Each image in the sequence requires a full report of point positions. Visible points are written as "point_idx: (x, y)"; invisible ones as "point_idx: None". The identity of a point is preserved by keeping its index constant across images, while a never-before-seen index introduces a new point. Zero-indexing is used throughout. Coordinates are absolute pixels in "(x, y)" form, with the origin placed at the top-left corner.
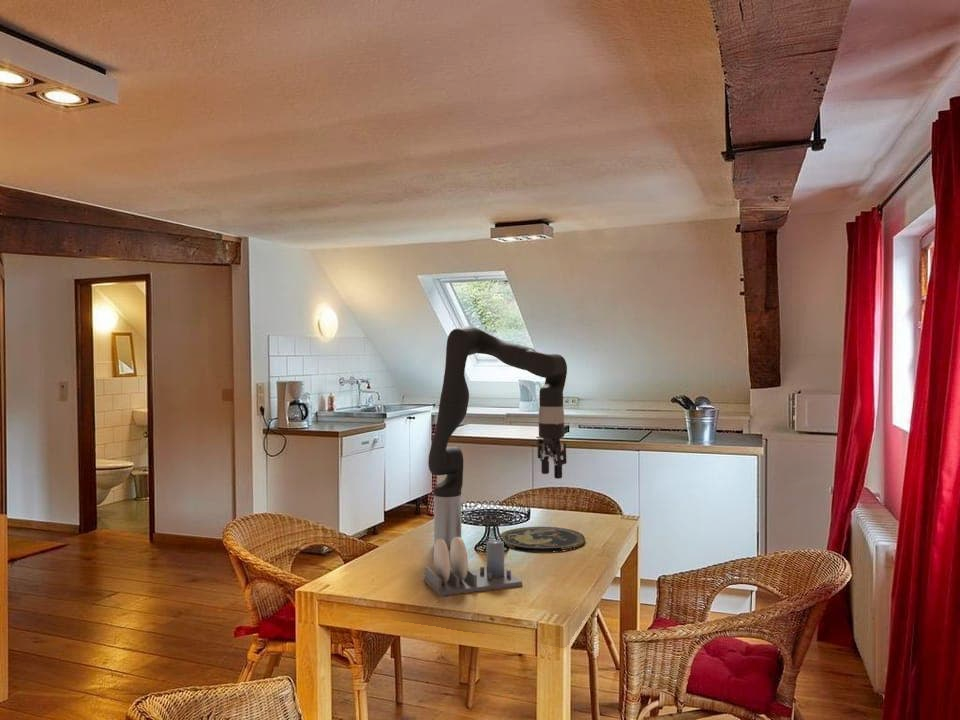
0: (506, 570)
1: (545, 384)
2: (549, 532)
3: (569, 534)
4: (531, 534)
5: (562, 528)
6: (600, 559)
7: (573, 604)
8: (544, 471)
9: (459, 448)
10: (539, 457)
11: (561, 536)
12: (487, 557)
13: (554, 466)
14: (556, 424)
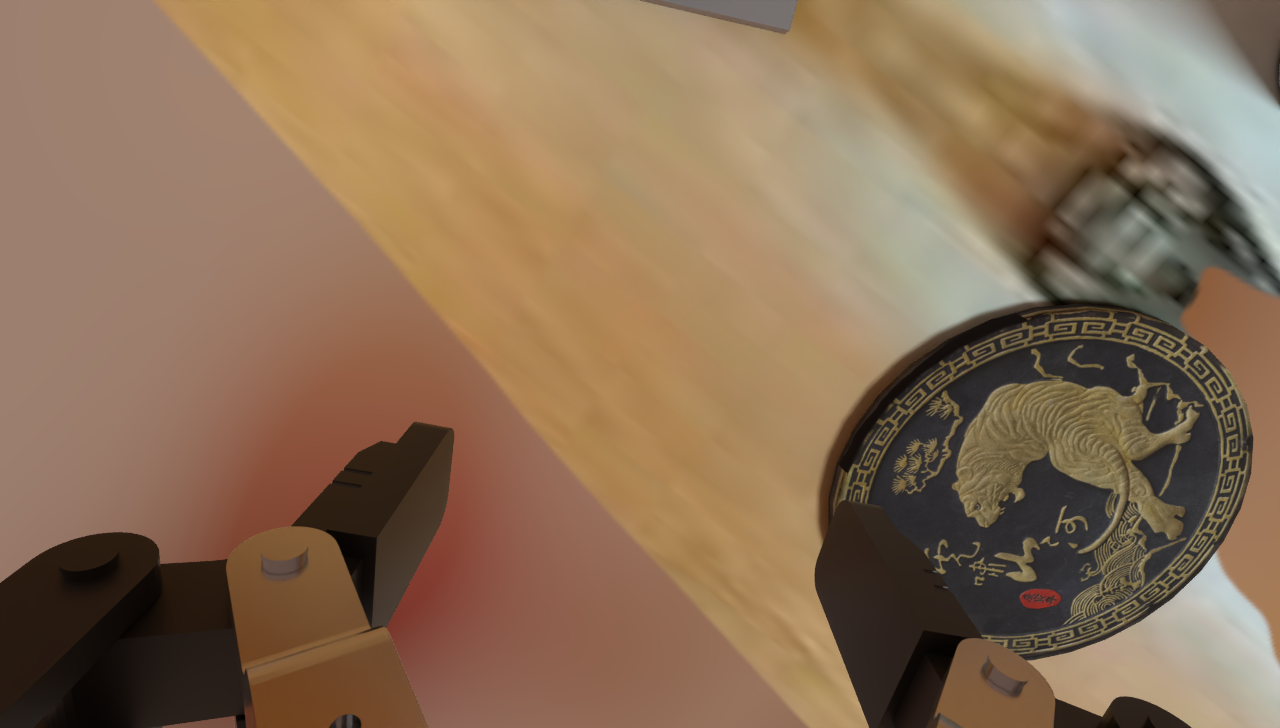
0: (719, 11)
1: None
2: (1067, 577)
3: (976, 618)
4: (1106, 498)
5: (1063, 649)
6: (652, 514)
7: (189, 21)
8: (844, 540)
9: None
10: (1109, 718)
11: (979, 577)
12: None
13: (373, 527)
14: None
